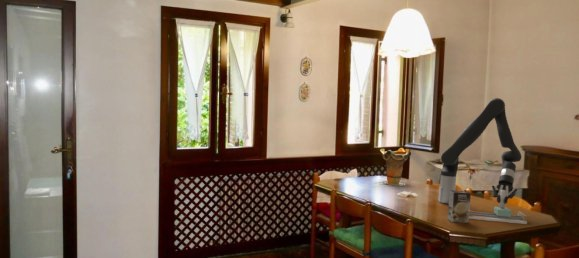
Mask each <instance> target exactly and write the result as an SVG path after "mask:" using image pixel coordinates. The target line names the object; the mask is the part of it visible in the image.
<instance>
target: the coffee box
mask: <svg viewBox="0 0 579 258" xmlns="http://www.w3.org/2000/svg"><path fill="white" fill-rule="evenodd" d="M471 194H472V193H470V192H469V191H467V190H456V189H455V190H450V196H449V204H448V209H447V217H446V220H449V221H450V222H451V223H463V224H464V223H466V224H467V223H468V224H469V220H470V219H469V209H470V206H471Z"/></svg>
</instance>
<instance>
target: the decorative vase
mask: <svg viewBox="0 0 579 258" xmlns="http://www.w3.org/2000/svg"><path fill="white" fill-rule="evenodd" d="M379 152H380V153H381V157H382V159H383V160H384V161H385V162H386V175H385V177H386V180H382V181H381V183H382V184H384V185H390V186H397V187H401V186H406V184H405V183H404V182H402V181H401V179H402V174H403V169H404V168H403V166H404V163H405V162H406V161H407V160H408V158H409V156H410V152H411V150H410V149H409V148H406V149H404V147H400V148H398V150H395V151H392V150H391V149H388V150H387V151H385V148H381V149H380V150H379Z"/></svg>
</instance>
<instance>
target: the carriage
mask: <svg viewBox="0 0 579 258" xmlns="http://www.w3.org/2000/svg"><path fill="white" fill-rule="evenodd" d="M505 197H506V190H501V193H500V203H499V204H498V205H499V206H494V207H493V213H495V214H496V215H497V216H505V217H511V215H512V210H511V209H510V208H508V207H506V206H505V205H506V204H504V200H505Z"/></svg>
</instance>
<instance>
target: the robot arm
mask: <svg viewBox="0 0 579 258" xmlns="http://www.w3.org/2000/svg"><path fill="white" fill-rule="evenodd" d="M493 120H494V121H495V124H496V129H497V134H498V138H499V142H500V145H501V147H502V148H504V149H509V150H507V151H504V152H502V153H501V162H502V164H501V165H502V168H501V171H500V175H499V179H498V183H497V184H496V185H491V190H492V192H493V195H494V196H495V197H496V202H497V203H498V204H500V193H501V190H506V196H505V200H504V204H505V205H507V204H508V201H509V199H511V200H512V199H513V198H514V197H515V196H516V195H517V193H518V189H517V188H514V180H515V175H516V168H517V167H516V166H517V165H516V164H515V163H518V162H520V161H521V159H522V154H521V151H520V150H519V149H518V147H517V145H516V143H515V142H514V137H513V135H512V132H511V130H510V124H509V123H508V120H507V113H506V104H505V101H504V99H502V98H499V97H495V98H492V99H491V100H489V101H488V103H487V104H486V106H485V107H484V109H483V110H482V111H481V112H480V114H479V115H478V116H476V118H474V119H473V120H471V122H470V123H469V124H468V125H467V126H466V127H465V128H464V130H463V131H462V132H461V133H460V135H458V137H457V139H456V140H455V141H454V142H453V144H451V145H450V146H449V147H448V148H447V149H446V150H445V151H444V152H442V154H441V156H440V159H441V163H442V168H441V171H440V183H439V187H438V198H437V199H438V200H437V201H438V202H439V203H442V204H448V205H449V196H450V190H456V187H457V186H456V183H457V174H458V170H459V169H458V168H459V158H460V155H461V154H462V153H463V152H464V151H465V150H467V148H469V147H470V146H472V145H473V144H474V142H476V141H477V140H479V138H480V136H481V135H482V134H483V133H484V132H485V130H486V129H487V127H488V126H489V125H490V123H491V122H492V121H493ZM497 190H498V192H497ZM509 193H510V194H509Z"/></svg>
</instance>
